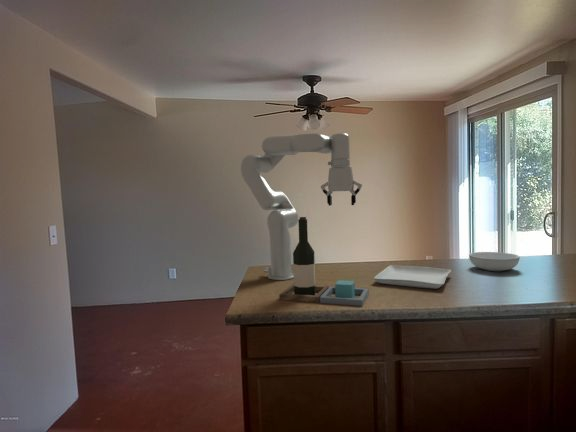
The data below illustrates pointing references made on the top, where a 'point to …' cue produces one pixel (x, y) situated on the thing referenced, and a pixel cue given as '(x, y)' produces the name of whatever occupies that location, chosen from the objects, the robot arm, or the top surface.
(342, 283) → the teal block
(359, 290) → the slate frame
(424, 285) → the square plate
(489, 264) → the serving bowl
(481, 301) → the top surface
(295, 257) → the wine bottle
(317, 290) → the walnut frame
